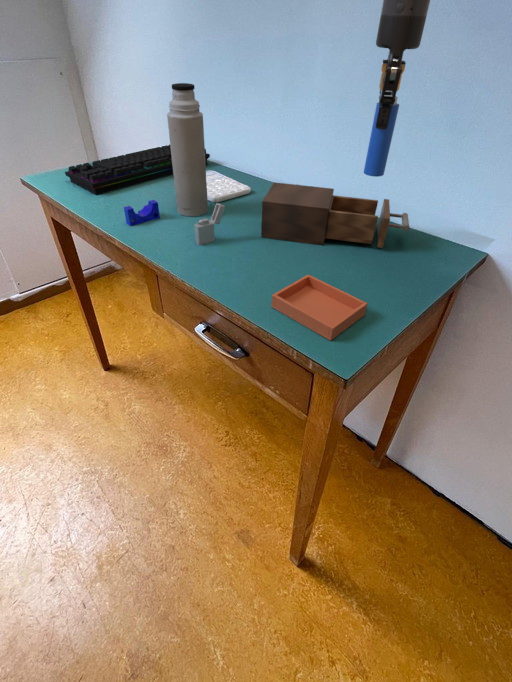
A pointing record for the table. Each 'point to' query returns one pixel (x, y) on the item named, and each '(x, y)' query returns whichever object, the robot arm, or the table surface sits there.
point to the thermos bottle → (187, 151)
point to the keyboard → (123, 170)
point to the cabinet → (296, 213)
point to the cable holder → (142, 213)
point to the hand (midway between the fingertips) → (381, 125)
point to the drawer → (360, 220)
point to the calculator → (223, 187)
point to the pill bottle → (380, 143)
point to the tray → (319, 306)
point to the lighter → (208, 226)
